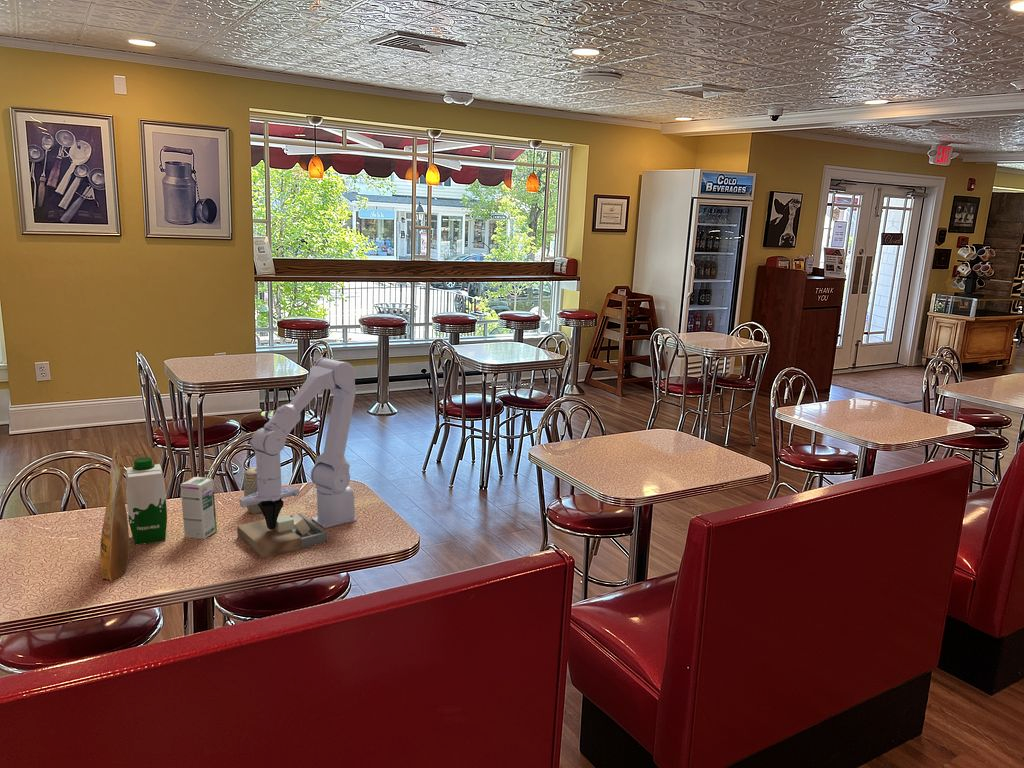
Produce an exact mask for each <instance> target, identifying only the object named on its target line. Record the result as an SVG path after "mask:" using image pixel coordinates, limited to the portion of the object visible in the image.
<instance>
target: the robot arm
mask: <svg viewBox="0 0 1024 768" xmlns="http://www.w3.org/2000/svg"><path fill="white" fill-rule="evenodd" d="M356 374H357V370H356V369H355V368H354V367H353V365H352V364H351V363H349V362H347V361H340V360H337V359H331V358H328V357H321V358H319V359H317V360H316V362H315V363H314V365H312V367H310V369H309V375H308V377H307V378H306V380H304V382H303V384H302V385H301V387H300V388H299V389H298V390H297V392H296V394H295V395H294V396H293V398H292V399H291V400H290V402H288V403H287V404H282V405H281V406H278V407H277V408H276V410H275V411H276V412H275V413H274V414H273V415H272V416H271V418H270V419H269V420H268V421H267V422H266V423H265V424H264V425H263V427H260V428H258V429H257V430H256V431H254V433H253V434H252V437H251V440H249V444H250V447H251V448H252V449H253V450H254V456H255V464H256V469H257V490H258V492H257V493H254V494H251V495H249V496H246V497H244V496H243V497H240V498H239V500H238V501H239V506H240V507H241V508H242V509H243V508H247V506H249V505H254V504H258V506H259V507H260V509H261V511H262V512H261V513H262V515H263V517H264V520H265V521H266V524H267V528H269V529H270V530H271V529H275V527H276V522H277V518H278V516H279V515H280V513H281V510H282V508H283V506H284V501H283V499H286V498H290V497H299V496H300V488H298V487H297V486H290V487H283V486H282V472H281V471H282V467H281V465H282V464H281V452H282V451H283V450H284V448H285V446H286V441H287V438H288V435H289V434H290V433H291V432H292V430H293V429H294V428H295V427H296V425H297V424H298V423H299V421H300V420H301V419H302V418H301V416H302V415H301V412H302V411H303V410H304V409H305V408H306V407H307V406H308V404H309V403H310V402H311V401H312V400H313V399H314V398H315V397H316V396H317V395H318V394H319V393H320V391H322V390H327V389H328V390H330V392H331V393H332V394H333V399H332V403H331V410H330V414H329V421H328V425H327V430H326V431H327V432H326V436H325V442H324V447H323V452H322V453H321V454H319V455H317V457H316V458H315V463H314V465H313V467H312V468H311V471H310V480H311V482H312V483H313V484H314V487H315V489H316V506H317V507H316V508H317V509H316V510H317V512H316V514H317V515H315V516H312V517H311V521H314V523H316V524H318V525H319V526H321V528H322V529H325V528H327V529H328V528H331V527H335V526H338V525H342V524H347V523H350V522H354V521H357V518H356V517H355V516H356V515H355V509H356V508H355V507H356V506H355V494H354V491H353V488H352V487H351V486H349V484H350V481H351V474H350V467H351V465H350V463H349V461H348V460H347V458H346V457H345V454H346V447H347V442H348V436H349V431H350V425H351V420H352V414H353V409H354V403H355V398H356V393H357V390H356V382H355V381H356V376H357V375H356Z"/></svg>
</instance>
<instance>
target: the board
mask: <svg viewBox="0 0 1024 768" xmlns="http://www.w3.org/2000/svg"><path fill="white" fill-rule="evenodd" d="M236 529H237V538H239V540H241V541H242V543H244V544H245V545H246V546H247V547H248V548H250V550H252V551H253V552H254V553H255V554H256V555H257V556H258V557H259V558H260V559H261V560H263V559H267V558H271V557H275V556H278V555H282V554H286V553H291V552H293V551H297V550H298V551H299V550H301V537H300V536H299V535H297V534H296V533H295V532H293V531H292V530H287V531H282V532H278V531H277V530H276V529H271V530H270V529H269V528H267V524H266V521H265V519H259V520H256V521H252V522H247V523H244V524H239V525H237V526H236Z"/></svg>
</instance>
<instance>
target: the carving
mask: <svg viewBox="0 0 1024 768" xmlns="http://www.w3.org/2000/svg"><path fill="white" fill-rule="evenodd" d="M243 477H244V478H243V497H246V496H249V495H251V494H254V493H257V492H258V490H257V469H256V467H250V468H248V469H246V471H244V474H243ZM246 509H247V511H248V512H249V513H250V514H260V513H262V511H261V509H260V507H259V506H258V504H254V505H249V506H247V507H246Z"/></svg>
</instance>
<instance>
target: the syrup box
mask: <svg viewBox="0 0 1024 768" xmlns="http://www.w3.org/2000/svg"><path fill="white" fill-rule="evenodd" d="M180 496H181V508H182V509H181V510H182V519H183V530H184V531H183V532H184V533H183V535H184V538H190V539H196V540H197V539H198V540H205V539H207V538H209V537H210V536H212V535H213V534H214V533H215V532H217V531H218V527H217V516H216V515H217V514H216V512H217V511H216V502H215V485H214V479H213V478H211V477H204V476H202V477H201V476H193V477H191V478H190V479H188V480H187V481H184V482H182V483H180Z"/></svg>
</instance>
